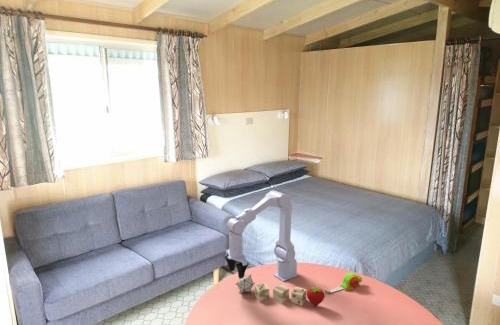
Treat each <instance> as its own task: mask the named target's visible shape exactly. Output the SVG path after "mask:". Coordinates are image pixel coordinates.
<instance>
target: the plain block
mask: <svg viewBox="0 0 500 325" xmlns="http://www.w3.org/2000/svg"><path fill="white" fill-rule="evenodd" d="M272 299H273V300H275V301H276V302H278V303H280V304H283V303H285V302H286V301H288V300H289V299H290V287H287V286H286V285H283V284H279V285H277V286H275V287H274V288H272Z"/></svg>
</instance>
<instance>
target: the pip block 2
mask: <svg viewBox="0 0 500 325" xmlns="http://www.w3.org/2000/svg"><path fill="white" fill-rule="evenodd" d="M290 295H291V296H290V297H291V298H290V299H291V300H290V301H291V302H290V303H292V304H295V305H298V306H301V307H302V306H304V305H305V302H306V301H307V289H306V288H302V287H298V286H295V287H294V288H293V290H292V291H291V292H290Z"/></svg>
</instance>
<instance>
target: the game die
mask: <svg viewBox="0 0 500 325" xmlns="http://www.w3.org/2000/svg"><path fill="white" fill-rule="evenodd" d="M238 278H239V277H238ZM235 285H236V286H237V287H238V290H239V294H240V293H249V294H250V295H251V294H252V292H251V291H252V288H253V286H254V285H256V282H254V281H253V279H252V274H249V275H245V274H244V278H241V279H240V278H239V279H238V281H236V283H235Z"/></svg>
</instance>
